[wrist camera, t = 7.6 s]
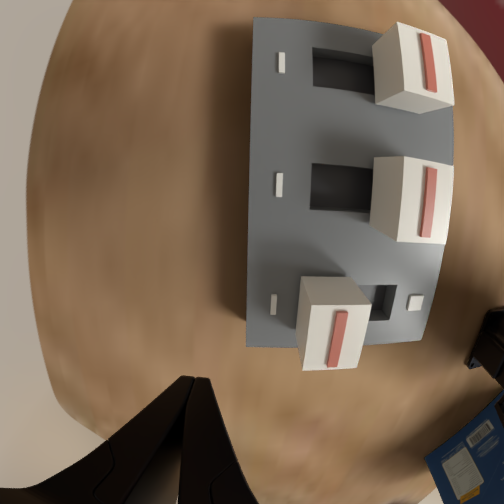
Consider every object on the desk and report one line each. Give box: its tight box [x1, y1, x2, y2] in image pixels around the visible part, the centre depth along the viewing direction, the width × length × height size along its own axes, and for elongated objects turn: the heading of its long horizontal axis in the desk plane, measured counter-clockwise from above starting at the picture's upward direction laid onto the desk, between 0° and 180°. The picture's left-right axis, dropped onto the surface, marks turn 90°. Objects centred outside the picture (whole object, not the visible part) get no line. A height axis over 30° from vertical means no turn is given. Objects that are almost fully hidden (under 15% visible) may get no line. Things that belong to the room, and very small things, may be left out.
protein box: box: [425, 390, 504, 504], centre depth 18 cm, size 10×15×16 cm
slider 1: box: [295, 276, 372, 370], centre depth 15 cm, size 3×4×5 cm
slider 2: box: [372, 22, 454, 114], centre depth 11 cm, size 3×4×5 cm
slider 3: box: [369, 156, 454, 244], centre depth 13 cm, size 3×4×5 cm
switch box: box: [246, 17, 454, 348], centre depth 15 cm, size 12×19×4 cm, turn 179°
